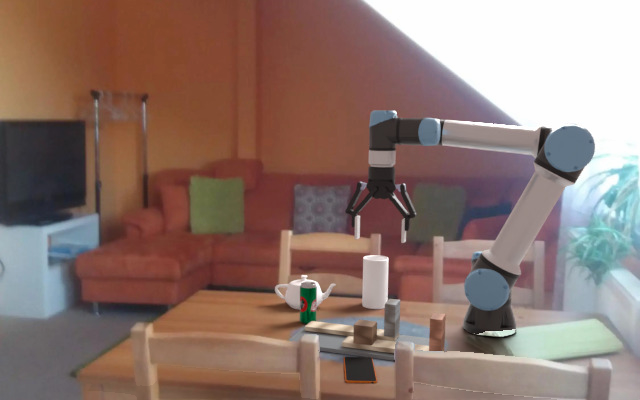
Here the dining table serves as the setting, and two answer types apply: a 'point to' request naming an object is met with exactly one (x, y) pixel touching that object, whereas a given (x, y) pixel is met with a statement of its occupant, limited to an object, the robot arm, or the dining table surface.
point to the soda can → (308, 302)
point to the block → (365, 332)
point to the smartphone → (359, 370)
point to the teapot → (294, 292)
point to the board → (335, 345)
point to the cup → (375, 281)
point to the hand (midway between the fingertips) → (380, 240)
